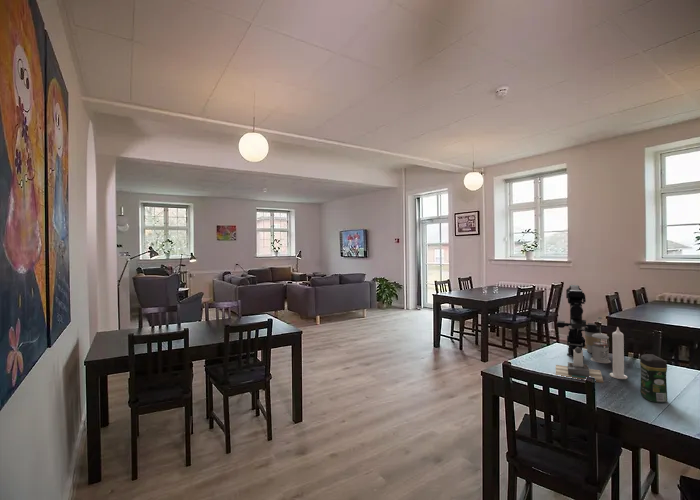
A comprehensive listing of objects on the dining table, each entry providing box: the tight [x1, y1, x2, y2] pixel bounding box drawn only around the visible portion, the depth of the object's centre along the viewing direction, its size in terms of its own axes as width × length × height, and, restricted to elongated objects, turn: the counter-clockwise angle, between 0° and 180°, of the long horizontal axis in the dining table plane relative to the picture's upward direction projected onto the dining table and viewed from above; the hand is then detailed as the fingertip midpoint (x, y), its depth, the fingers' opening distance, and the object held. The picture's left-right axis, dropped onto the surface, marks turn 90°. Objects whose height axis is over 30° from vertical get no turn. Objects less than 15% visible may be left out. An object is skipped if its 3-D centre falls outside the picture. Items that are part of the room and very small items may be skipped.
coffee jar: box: [639, 353, 668, 404], centre depth 156 cm, size 10×8×19 cm
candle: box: [609, 326, 628, 380], centre depth 182 cm, size 7×7×25 cm
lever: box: [572, 347, 584, 367], centre depth 184 cm, size 3×4×11 cm
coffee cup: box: [583, 326, 603, 354], centre depth 221 cm, size 9×9×15 cm
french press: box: [590, 316, 612, 364], centre depth 206 cm, size 10×12×25 cm
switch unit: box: [555, 361, 604, 384], centre depth 186 cm, size 16×20×5 cm
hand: (576, 340), depth 201 cm, fingers closed
